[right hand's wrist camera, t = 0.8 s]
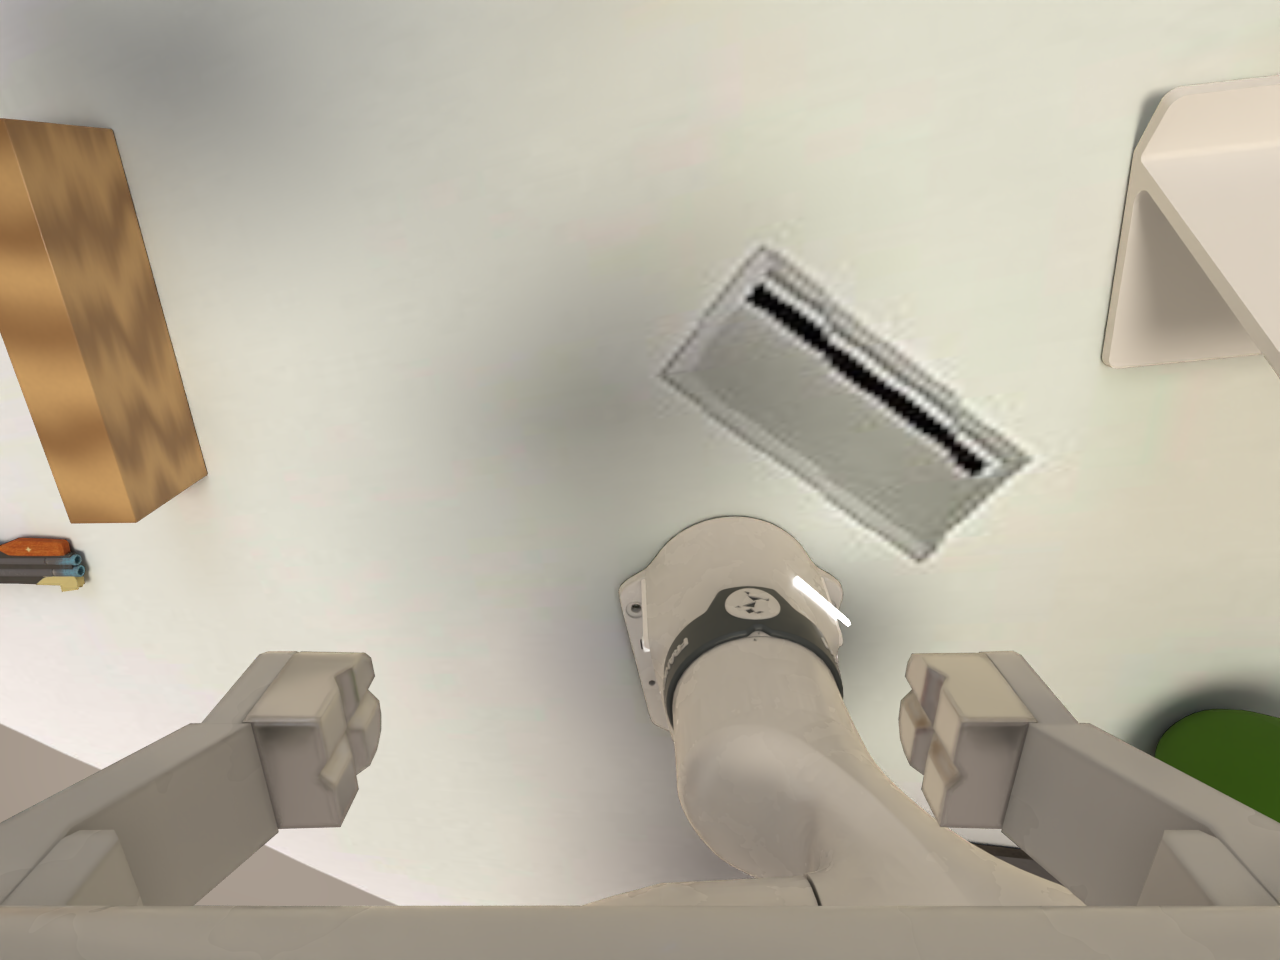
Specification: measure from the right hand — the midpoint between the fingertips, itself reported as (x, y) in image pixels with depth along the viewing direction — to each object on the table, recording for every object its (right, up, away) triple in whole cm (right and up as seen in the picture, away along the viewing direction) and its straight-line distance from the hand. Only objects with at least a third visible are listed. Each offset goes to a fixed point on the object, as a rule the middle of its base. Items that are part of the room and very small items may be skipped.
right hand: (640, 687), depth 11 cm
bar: (-37, +15, +40) cm, 56 cm away
